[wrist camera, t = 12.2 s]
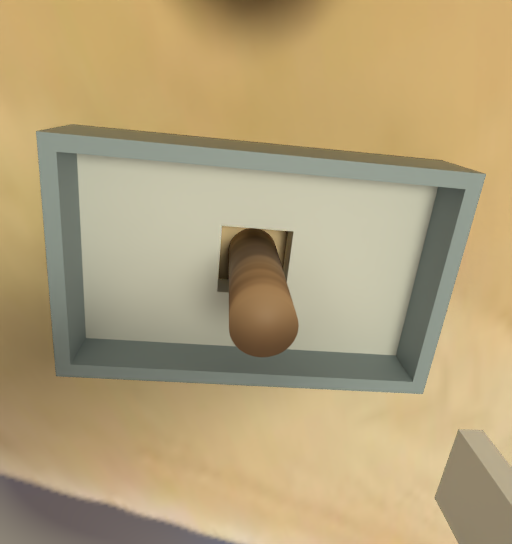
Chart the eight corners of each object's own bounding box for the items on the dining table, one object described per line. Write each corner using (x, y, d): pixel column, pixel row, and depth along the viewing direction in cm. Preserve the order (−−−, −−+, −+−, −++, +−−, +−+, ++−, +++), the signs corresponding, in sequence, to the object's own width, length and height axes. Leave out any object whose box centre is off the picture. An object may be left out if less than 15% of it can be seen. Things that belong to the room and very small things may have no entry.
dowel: (231, 225, 33) (233, 292, 22) (279, 231, 33) (304, 299, 22) (226, 270, 34) (225, 354, 23) (272, 275, 35) (292, 360, 24)
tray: (83, 332, 36) (56, 376, 30) (72, 124, 30) (36, 131, 24) (394, 349, 38) (422, 394, 32) (441, 160, 32) (486, 174, 26)
